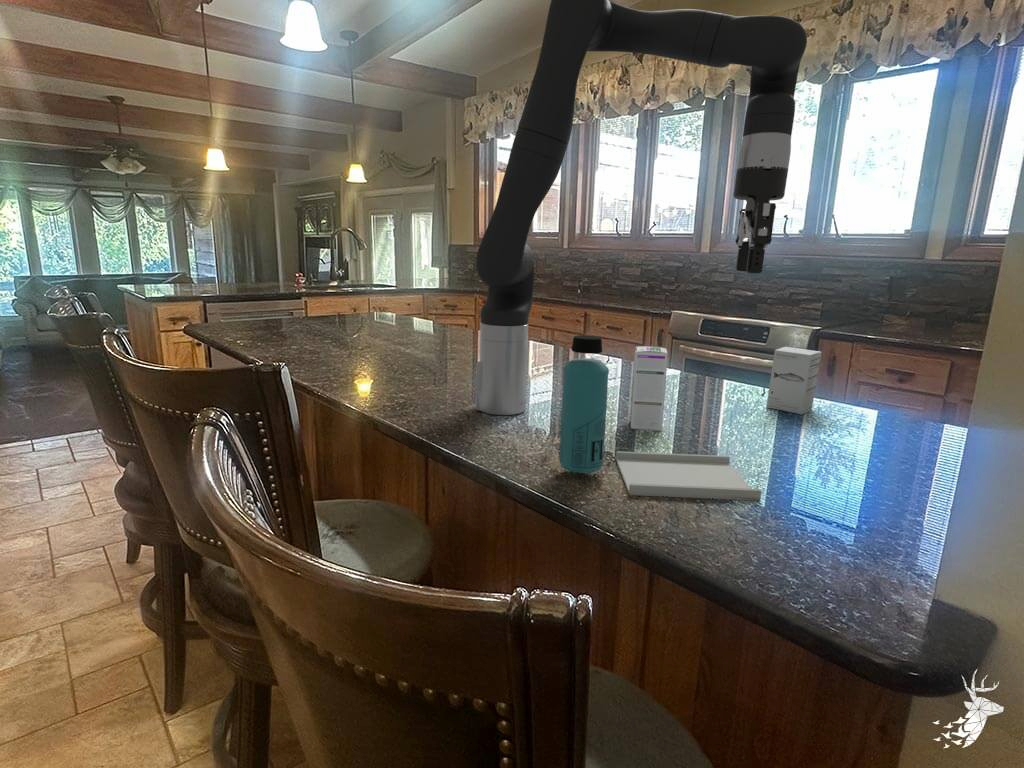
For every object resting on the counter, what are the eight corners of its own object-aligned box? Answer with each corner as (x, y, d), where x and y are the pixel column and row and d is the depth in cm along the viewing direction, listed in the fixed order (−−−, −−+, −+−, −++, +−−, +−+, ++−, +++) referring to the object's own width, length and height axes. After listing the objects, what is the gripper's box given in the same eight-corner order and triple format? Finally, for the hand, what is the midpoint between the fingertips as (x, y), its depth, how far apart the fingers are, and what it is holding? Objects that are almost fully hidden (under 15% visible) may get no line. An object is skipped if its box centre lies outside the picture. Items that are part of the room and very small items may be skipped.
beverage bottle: (591, 487, 77) (601, 341, 72) (548, 476, 80) (555, 335, 76) (610, 472, 82) (620, 335, 78) (569, 462, 86) (576, 330, 81)
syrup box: (662, 431, 102) (670, 352, 99) (629, 429, 103) (635, 350, 100) (661, 423, 108) (668, 347, 104) (629, 420, 109) (635, 345, 106)
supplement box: (765, 408, 121) (773, 349, 118) (777, 402, 126) (785, 345, 123) (802, 415, 116) (811, 354, 113) (813, 409, 121) (822, 350, 118)
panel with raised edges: (629, 495, 75) (630, 485, 75) (615, 459, 88) (616, 451, 87) (760, 500, 74) (761, 490, 74) (727, 464, 87) (728, 455, 87)
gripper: (729, 173, 97) (717, 269, 101) (746, 160, 84) (732, 272, 87) (775, 174, 96) (761, 272, 100) (801, 161, 82) (784, 275, 86)
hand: (747, 272), depth 94 cm, fingers open, 8 cm apart
